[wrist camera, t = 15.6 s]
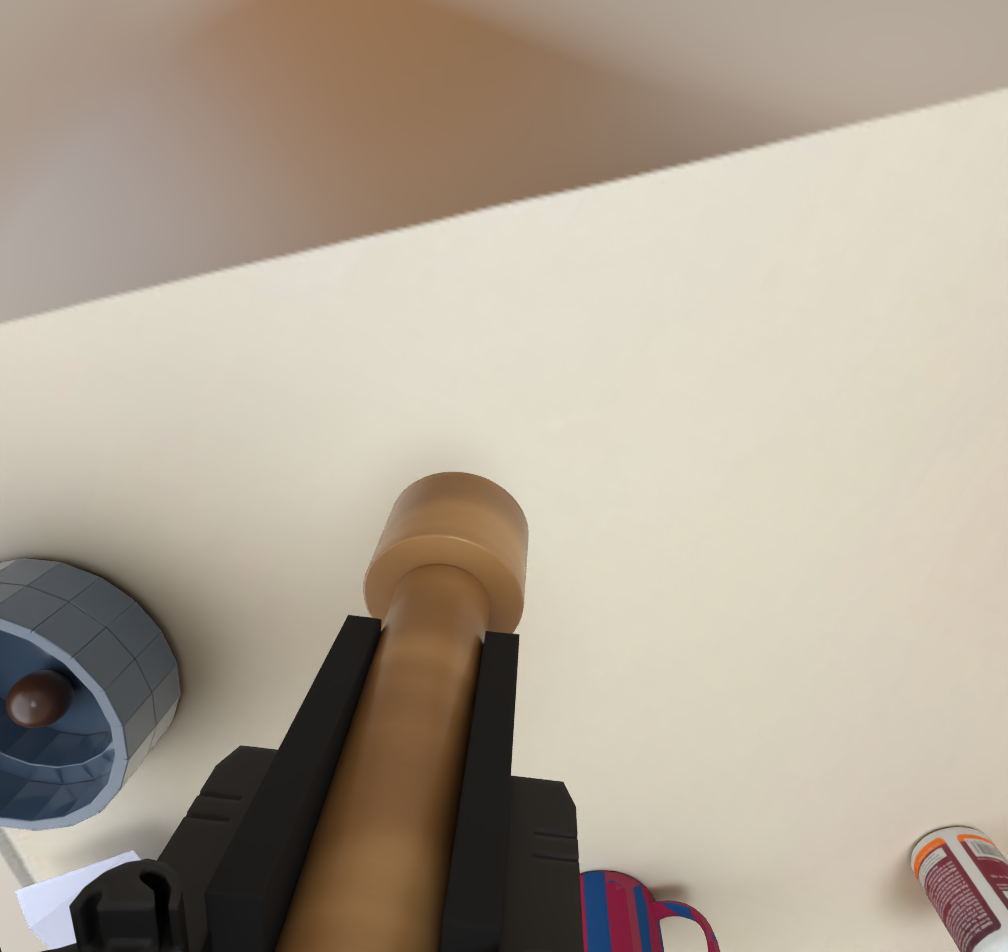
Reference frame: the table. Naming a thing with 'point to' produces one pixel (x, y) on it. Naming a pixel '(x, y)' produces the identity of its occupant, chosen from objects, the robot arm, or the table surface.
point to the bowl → (78, 692)
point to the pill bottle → (966, 886)
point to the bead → (39, 699)
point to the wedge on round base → (61, 901)
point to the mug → (628, 915)
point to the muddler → (411, 721)
